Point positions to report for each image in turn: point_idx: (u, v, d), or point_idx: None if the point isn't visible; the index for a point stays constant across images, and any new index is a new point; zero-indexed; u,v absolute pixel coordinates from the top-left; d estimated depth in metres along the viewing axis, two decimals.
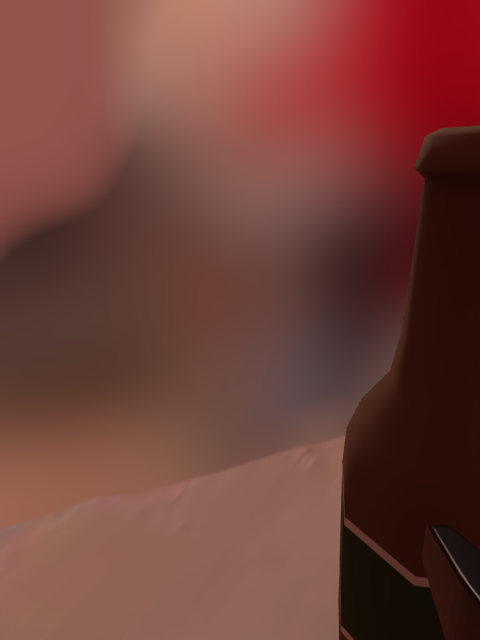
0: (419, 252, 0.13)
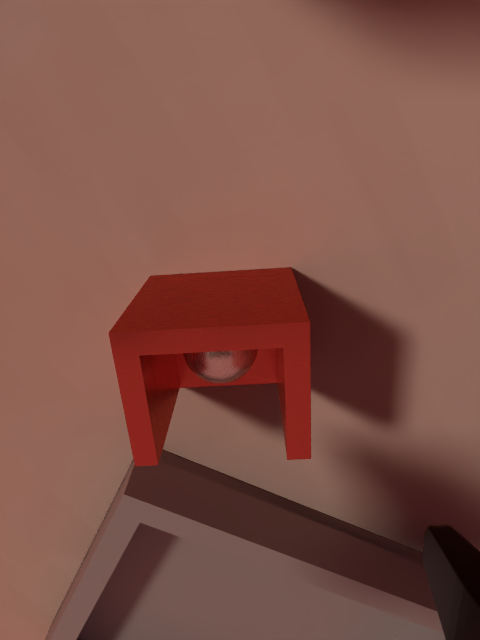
0: None
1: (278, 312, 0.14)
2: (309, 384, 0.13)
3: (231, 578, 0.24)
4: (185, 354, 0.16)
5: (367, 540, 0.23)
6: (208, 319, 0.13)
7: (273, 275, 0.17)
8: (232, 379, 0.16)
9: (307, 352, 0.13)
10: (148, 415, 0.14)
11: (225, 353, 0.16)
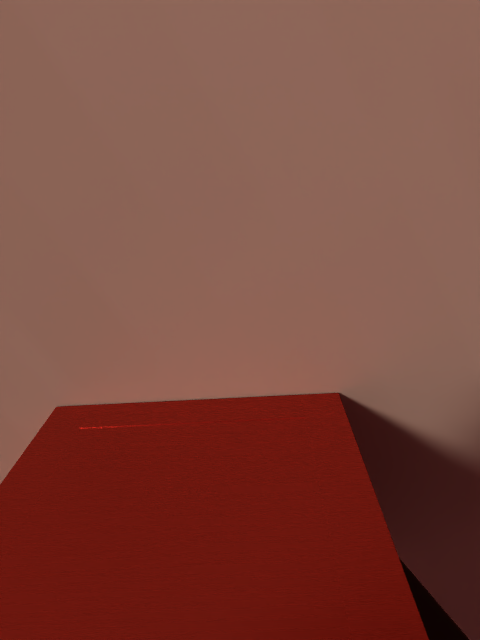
0: None
1: None
2: None
3: None
4: None
5: None
6: None
7: (305, 422, 0.08)
8: None
9: None
10: None
11: None
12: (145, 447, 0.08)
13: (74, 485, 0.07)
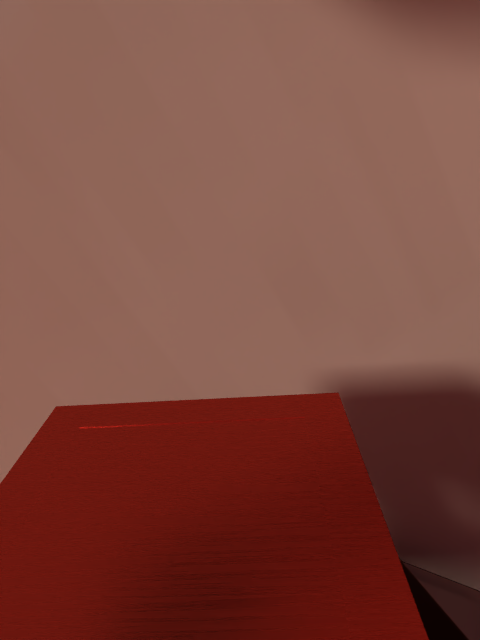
0: None
1: None
2: None
3: None
4: None
5: None
6: None
7: (305, 421, 0.08)
8: None
9: None
10: None
11: None
12: (145, 447, 0.08)
13: (74, 485, 0.07)
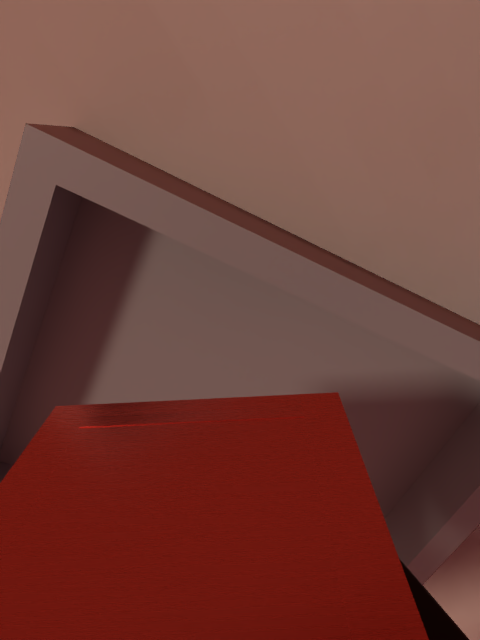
0: None
1: None
2: None
3: (209, 359, 0.17)
4: None
5: (399, 288, 0.16)
6: None
7: (305, 421, 0.08)
8: None
9: None
10: None
11: None
12: (145, 446, 0.08)
13: (73, 484, 0.07)
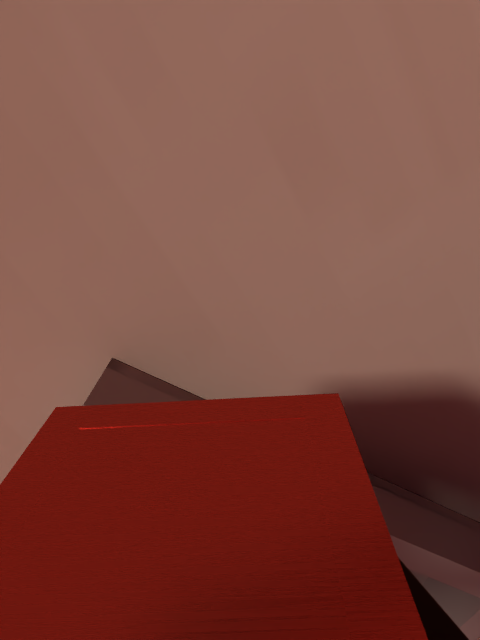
0: None
1: None
2: None
3: None
4: None
5: (375, 485, 0.20)
6: None
7: (305, 422, 0.08)
8: None
9: None
10: None
11: None
12: (145, 447, 0.08)
13: (74, 486, 0.07)
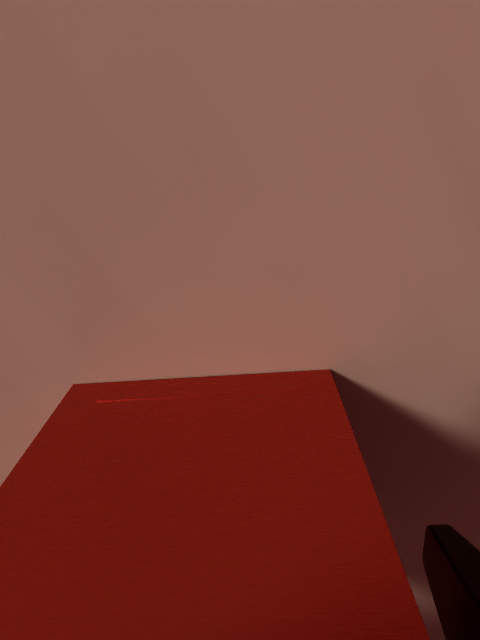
0: None
1: (333, 578, 0.05)
2: None
3: None
4: None
5: None
6: (149, 607, 0.05)
7: (299, 393, 0.09)
8: None
9: None
10: None
11: None
12: (156, 416, 0.09)
13: (94, 447, 0.08)
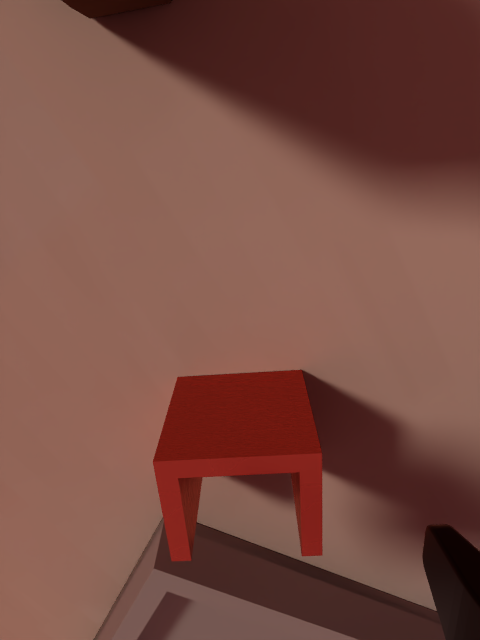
0: None
1: (294, 438, 0.16)
2: (321, 499, 0.16)
3: (244, 628, 0.27)
4: None
5: (368, 596, 0.26)
6: (235, 445, 0.16)
7: (286, 381, 0.20)
8: None
9: (319, 475, 0.15)
10: (184, 522, 0.16)
11: None
12: (222, 390, 0.19)
13: (198, 402, 0.19)
